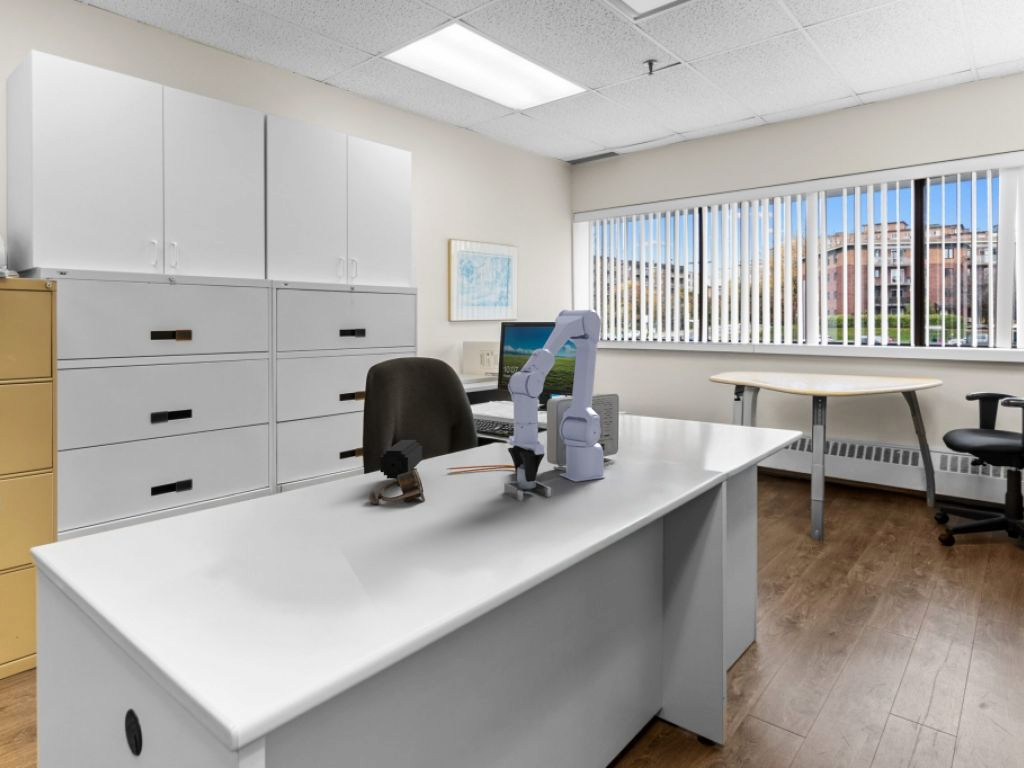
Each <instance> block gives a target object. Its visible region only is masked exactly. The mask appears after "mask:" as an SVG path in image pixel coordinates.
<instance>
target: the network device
mask: <svg viewBox="0 0 1024 768" xmlns="http://www.w3.org/2000/svg"><path fill="white" fill-rule="evenodd" d="M571 404H572V395H571V396H570V395H569V396H562V397H553V398H549V399H548V400H547V402H546V460H547V462H548V464H552V465H554V469H555V470H558V471H559V470H560V471H563V472H566V444H565V443H564V440H563V439H562V438H561V436H560V431H559V429H560V424H561V422H562V419H563V413H564V412H565V411H566V410H568V409H569V408H570V407H571ZM592 409H593V410H594V411H595V412H596V413H597V414H598V415H599V416H600V428H601V435H600V438H599V440H598V441H597V443H598V444H600V445H601V447H602V449H603V454H604V465H606V466H609V465H608V464H610V465H613V464H614V461H615V460H614V459H610V458H607V457H609V456H613V455H617V453H618V452H619V427H620V425H619V422H620V420H619V418H620V416H619V415H620V413H619V411H620V396H619V395H618V393H613V392H601V393H600V392H598V393H593V397H592ZM576 419H582V420H586V419H585V418H580V417H577V418H576ZM606 461H607V462H606ZM612 463H613V464H612ZM604 465H603V467H604Z"/></svg>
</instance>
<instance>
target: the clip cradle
mask: <svg viewBox="0 0 1024 768" xmlns="http://www.w3.org/2000/svg"><path fill="white" fill-rule="evenodd" d="M503 487H504V493H505V494H506V495H508V496H510V497H512V498H513V499H515V500H518V501H519V502H522V501H524V491H529V490H533V491H535V492H537V493H539V494H541V495H543V496H545V497H546V496H547V498H550V497H552V495H551V494H552V488H551V487H550V486H549V485H546V484H545V483H543V482H540V481H537V480H536V487H535V488H531V489H522V488H518V481H511V482H510V481H508V482H506V483H505V482H504V486H503Z"/></svg>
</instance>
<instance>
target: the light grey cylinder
mask: <svg viewBox="0 0 1024 768" xmlns="http://www.w3.org/2000/svg"><path fill="white" fill-rule="evenodd" d="M516 479H517V481H518V488H522V489H529V490H532V489H531V488H535V487H536V481H537V479H536V480H535V481H531V482H527V481H526V478H525V469H524V464H520V467H518V468H517V475H516Z"/></svg>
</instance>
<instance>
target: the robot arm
mask: <svg viewBox="0 0 1024 768" xmlns="http://www.w3.org/2000/svg"><path fill="white" fill-rule="evenodd" d="M554 321H555V323H554V325H555V326H554V328H553V330H552V332H551V333H550V335H549V337H548V339H547V340H546V342H545V344H544V345H543V347H542V348H537V349H535V350H533V351H532V353H531V356H530V357H529V358H528V360H527V361H526V362H525V364H524V365H523V367H522V368H521V370H520V371H517V372H515V373H513V374H512V375H511V377H510V379H509V382H508V384H507V389H508V392H509V393H510V395H511V396H510V397H511V401H512V403H513V435H510V436H509V437H508V443H509V445H510V446H512V447H508V448H507V451H508V453H509V455H510V457H511V459H512V463H513V466H515V468H514V470H515V474H516V476H517V468H518V467H520V464H524V469H525V478H526V481H527V482H531V481H535V480H536V481H537V476H538V471H539V467H540V465H541V462H542V461H543V459H544V457H545V445H543V444H541V441H539V427H538V426H539V423H538V422H539V420H538V419H539V418H538V416H539V414H538V413H539V409H538V407H539V406H538V405H539V403H538V402H539V401H538V400H539V399H538V398H539V397H538V396H540V395H541V394H542V393H543V390H544V383H545V381H546V377H547V376H548V374H549V372H550V371H551V369H552V368H553V367H554V365H555V364H556V359H555V356H556V354H558V352H559V351H560V350H561V349H562V348H563V346H564V345H565V344H566V343H567V342H568V341H570V342H571V343H573V344H574V346H575V347H576V350H575V351H576V353H575V364H574V376H573V384H572V385H573V386H572V393H571V394H572V395H571V396H572V404H571V407H570V408H569V409H568V410H566V411H565V412H564V413H563V419H562V422H561V424H560V429H559V431H560V436H561V438H562V439H563V440H564V443H565V444H566V465H565V468H566V471H565V472H562V473H561V472H560V473H559V476H561V477H563V478H566V479H568V480H570V481H572V482H575V483H576V482H583V481H590V480H591V481H592V480H597V479H605V478H606V476H605V475H604V466H603V465H604V463H605V461H604V458H605V456H604V454H603V449H602V447H601V445H600V444H598V443H597V441H598V440H599V438H600V435H601V428H600V416H599V415H598V414H597V413H596V412H595V411H594V410H593V409H592V397H593V394H594V385H595V375H596V374H595V373H596V363H597V353H598V345H599V344H598V343H599V342H600V334H601V333H600V332H601V323H602V322H601V321H602V320H601V318H600V316H599V314H598V312H597V311H596V310H595V309H592V308H589V309H571V310H568V309H562V310H561V311H560V312H559V313H558V315H557V316H556V317H555V320H554ZM577 417H580V418H585V419H586V420H582V419H576V418H577Z"/></svg>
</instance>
